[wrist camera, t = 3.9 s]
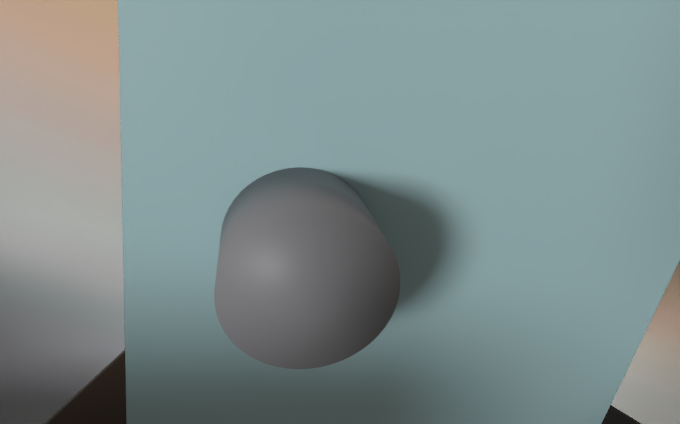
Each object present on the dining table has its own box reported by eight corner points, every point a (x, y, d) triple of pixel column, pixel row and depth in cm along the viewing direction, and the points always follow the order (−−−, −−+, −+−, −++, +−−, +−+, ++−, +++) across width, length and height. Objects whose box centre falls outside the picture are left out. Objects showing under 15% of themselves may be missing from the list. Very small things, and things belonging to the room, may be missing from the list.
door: (385, 519, 12) (465, 820, 7) (172, 534, 11) (121, 898, 6) (533, -11, 7) (954, -30, 3) (192, -79, 6) (60, -265, 2)
